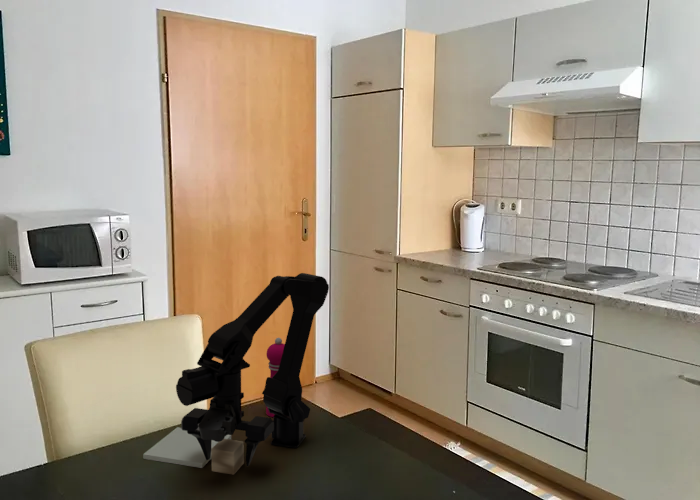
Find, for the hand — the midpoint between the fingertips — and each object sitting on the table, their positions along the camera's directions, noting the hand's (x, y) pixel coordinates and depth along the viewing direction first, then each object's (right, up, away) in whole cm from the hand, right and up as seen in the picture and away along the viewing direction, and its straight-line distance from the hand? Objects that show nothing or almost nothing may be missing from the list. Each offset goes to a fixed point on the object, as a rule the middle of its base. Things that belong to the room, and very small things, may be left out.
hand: (228, 462), depth 126 cm
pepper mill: (+7, +3, +28) cm, 29 cm away
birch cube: (0, -1, 0) cm, 1 cm away
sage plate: (-10, 0, +8) cm, 13 cm away
